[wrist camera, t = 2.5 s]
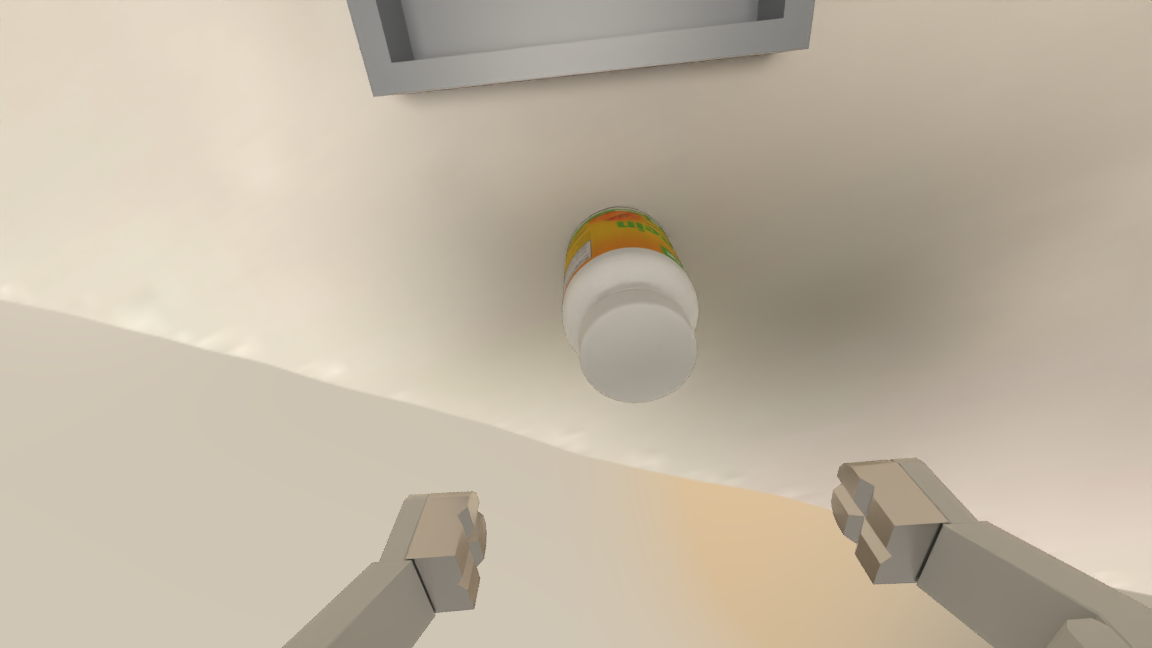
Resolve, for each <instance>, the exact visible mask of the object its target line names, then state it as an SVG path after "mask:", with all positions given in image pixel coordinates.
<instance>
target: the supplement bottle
mask: <svg viewBox="0 0 1152 648" xmlns="http://www.w3.org/2000/svg"><path fill="white" fill-rule="evenodd" d="M698 314H699V307H698V300H697V295H696V292H695V289H694V287H693V285H692V282H691V280H690V278H689V276H688V275H687V273H686V271H685V270H684V268H683V266H682V264H681V262H680V260H679V259H678V257H677V255H676V253H675V251H674V249H673V247H672V245H671V244H670V242H669V240H668V238H667V236H666V234H665V232H664V231H663V230H662V228H661V227H660V226H659V224H658V223H657V222H656V221H655V220H654V219H652V218H651V217H650V216H648V215H647V214H645V213H643V212H641V211H638V210H635V209H631V208H623V207H617V208H609V209H605V210H602V211H599V212H597V213H595V214H593V215H592V216H590V217H589V218H587V219H586V220H585V221H584V222H583V223H582V224H581V225H580V226H579V227H578V229H577V230H576V231H575V233H574V234H573V236H572V238H571V240H570V243H569V246H568V250H567V255H566V265H565V277H564V292H563V303H562V321H563V328H564V331H565V334H566V337H567V339H568V341H569V343H570V345H571V347H572V348H573V349H574V351H575V352H576V353H577V354H578V355H579V359H580V364H581V368H582V371H583V373H584V375H585V377H586V379H587V380H588V381H589V383H590V384H591V385H592V386H593V387H594V388H595V389H596V390H598V391H599V392H600V393H602V394H603V395H605V396H607V397H609V398H612V399H614V400H618V401H622V402H629V403H640V402H648V401H652V400H656V399H659V398H662V397H664V396H666V395H668V394H670V393H671V392H673V391H674V390H676V389H677V388H678V387H679V386H680V385H681V384H682V383H683V382H684V381H685V380H686V379H687V378H688V376H689V375H690V373H691V371H692V370H693V368H694V365H695V362H696V357H697V342H696V337H695V335H694V331H695V329H696V325H697V321H698Z"/></svg>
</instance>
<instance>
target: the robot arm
mask: <svg viewBox="0 0 1152 648" xmlns="http://www.w3.org/2000/svg"><path fill="white" fill-rule="evenodd" d="M837 477H838V478H839V480H840V481H841V484H840V485H839V486H838V487H836V488H835V489H834V490H833V494H832V500H831V503H832V510H833V515H834V517H835V520H836V522H837V525H838V526H839V528H840V530H841V531H842V533H843V535H845V536H846V537H847V538H849V539H850V540H852V541H853V542H855V543H856V550H855V555H856V557H857V558H858V560H859V562H860V563H861V565H862V566H863V568H864V570H865V572H866V573H867V575H868V576H869V578H870V580H871V581H872V583H873V584H896V583H917V586H918V587H919V588H921V589H922V590H923V591H924V592H926V593H927V594H928V595H929V596H931V597H932V598H933V599H934V600H936V601H937V602H938V603H939V604H941V605H942V606H943V607H944V608H946V609H947V610H948V611H949V612H951V613H952V614H953V615H955V616H956V617H957V618H958V619H959V620H960V621H962V622H963V623H964V624H966V625H967V626H968V627H969V628H970V629H972V630H973V631H974V632H975V633H977V634H978V635H979V636H981V637H982V638H983V639H984V640H986V641H987V642H988V643H989V644H990V645H992V646H993V647H994V648H1152V609H1151V608H1149V607H1147V606H1145V605H1143V604H1142V603H1140V602H1138V601H1136V600H1134V599H1132V598H1130V597H1128V596H1126V595H1124V594H1123V593H1121V592H1119V591H1117V590H1115V589H1113V588H1111V587H1110V586H1108V585H1106V584H1104V583H1102V582H1100V581H1098V580H1096V579H1095V578H1093V577H1091V576H1089V575H1087V574H1085V573H1083V572H1081V571H1079V570H1078V569H1076V568H1074V567H1072V566H1070V565H1068V564H1066V563H1064V562H1063V561H1061V560H1059V559H1057V558H1055V557H1053V556H1051V555H1049V554H1047V553H1046V552H1044V551H1042V550H1040V549H1038V548H1036V547H1034V546H1032V545H1031V544H1029V543H1027V542H1025V541H1023V540H1021V539H1019V538H1017V537H1015V536H1014V535H1012V534H1010V533H1008V532H1006V531H1004V530H1002V529H1000V528H999V527H997V526H995V525H993V524H991V523H989V522H987V521H978V520H977V519H976V518H975V517H974V516H973V515H972V514H971V513H970V511H969V510H968V509H967V508H966V507H965V506H964V505H963V504H962V503H961V502H960V501H959V500H958V499H957V498H956V497H955V495H954V494H953V493H952V492H951V491H950V490H949V489H948V488H947V487H946V486H945V485H944V484H943V483H942V482H941V480H940V479H939V478H938V477H937V476H936V475H935V474H934V473H933V472H932V471H931V470H930V469H929V468H928V467H927V466H926V464H925V463H924V462H922V461H921V460H919V459H917V458H905V459H892V460H877V461H865V462H854V463H843V464H842V465H841V466H840V467H839V470H838V474H837ZM478 506H479V499H478V496H477V493H476V492H474V491H471V492H449V493H431V494H415V495H409V496H408V497H407V498H406V499H405V501H404V502H403V505H402V507H401V510H400V512H399V515H398V517H397V519H396V522H395V524H394V527H393V529H392V532H391V534H390V537H389V539H388V541H387V544H386V546H385V549H384V551H383V553H382V556H381V558H380V561H379V562H374V563H371V564H370V565H369V566H368V567H367V568H366V569H365V570H364V571H363V572H362V573H361V574H360V575H359V576H358V577H357V578H356V579H354V580H353V581H352V582H351V583H350V584H349V585H348V586H347V587H346V588H345V589H344V590H343V591H342V592H341V593H340V594H339V595H337V596H336V597H335V598H334V599H333V600H332V601H331V602H330V603H329V604H328V605H327V606H326V607H325V608H324V609H323V610H322V611H320V612H319V613H318V614H317V615H316V616H315V617H314V618H313V619H312V620H311V621H310V622H309V623H308V624H307V625H306V626H304V627H303V628H302V629H301V630H300V631H299V632H298V633H297V634H296V635H295V636H294V637H293V638H292V639H291V640H290V641H289V642H287V643H286V644H285V645H284V646H283V647H282V648H412V647H413V646H414V644H415V643H416V641H417V640H418V639H419V637H420V636H421V635H422V633H423V632H424V631H425V629H426V628H427V626H428V625H429V624H430V622H431V621H432V619H433V618H434V617H435V613H439V612H448V611H449V612H450V611H461V610H471V609H474V608H475V603H476V597H477V592H478V587H479V582H480V576H479V573H478V570H477V566H478V565H479V564H480V563H481V562H482V560H483V559H484V555H485V550H486V534H487V533H486V523H485V519H484V516H483V515H482V514H481V513H480V512H478Z"/></svg>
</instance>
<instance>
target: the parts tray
mask: <svg viewBox="0 0 1152 648" xmlns="http://www.w3.org/2000/svg"><path fill="white" fill-rule="evenodd" d="M814 3H815V0H347V4H348V7H349V11H350V15H351V18H352V22H353V25H354V29H355V32H356V36H357V39H358V43H359V47H360V50H361V54H362V57H363V61H364V64H365V68H366V72H367V75H368V79H369V82H370V86H371V89H372V93H373V97H375V96H387V95H400V94H410V93H419V92H428V91H437V90H446V89H455V88H464V87H474V86H483V85H492V84H501V83H510V82H519V81H528V80H537V79H546V78H555V77H564V76H573V75H582V74H591V73H600V72H609V71H618V70H627V69H636V68H645V67H654V66H664V65H673V64H682V63H691V62H700V61H709V60H718V59H727V58H736V57H745V56H754V55H763V54H772V53H779V52H787V51H794V50H801V49H808V48H809V41H810V34H811V26H812V19H813V11H814Z"/></svg>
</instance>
